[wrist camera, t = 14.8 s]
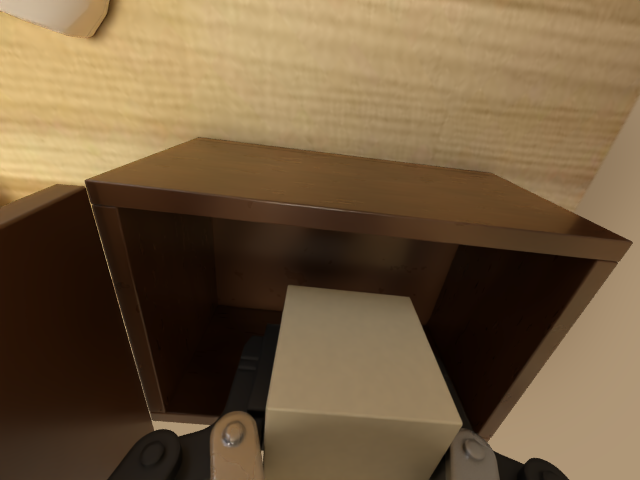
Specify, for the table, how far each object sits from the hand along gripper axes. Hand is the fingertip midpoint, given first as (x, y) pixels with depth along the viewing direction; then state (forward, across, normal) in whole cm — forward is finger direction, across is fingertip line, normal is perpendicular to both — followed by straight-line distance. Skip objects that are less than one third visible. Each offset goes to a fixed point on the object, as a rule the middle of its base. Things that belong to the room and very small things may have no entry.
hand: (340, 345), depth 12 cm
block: (+1, 0, 0) cm, 1 cm away
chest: (+9, 0, 0) cm, 9 cm away
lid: (-10, +8, 0) cm, 12 cm away
